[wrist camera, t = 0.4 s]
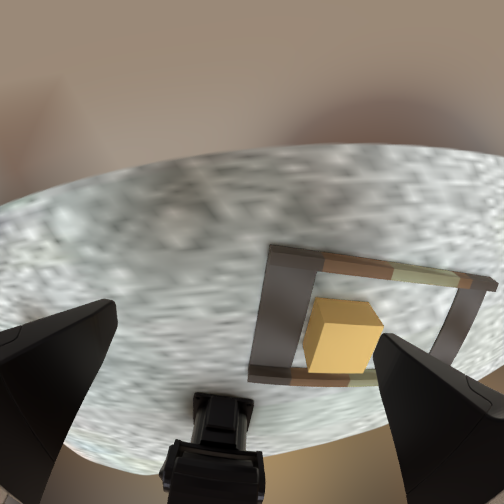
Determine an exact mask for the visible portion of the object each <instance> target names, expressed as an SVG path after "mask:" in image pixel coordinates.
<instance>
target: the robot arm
mask: <svg viewBox="0 0 504 504" xmlns="http://www.w3.org/2000/svg"><path fill="white" fill-rule="evenodd" d="M117 326H118V320H117V311H116V304H115V302H114V301H113V300H108V299H101V300H98V301H95V302H91V303H88V304H85V305H82V306H79V307H76V308H73V309H70V310H67V311H64V312H60V313H57V314H54V315H51V316H48V317H45V318H42V319H39V320H36V321H33V322H30V323H26V324H23V325H22V326H21V325H20V326H17V327H14V328H11V329H7V330H4V331H1V332H0V504H5V501H6V499H7V497H8V495H9V496H11V497H12V498H14V499H15V500H16V501H18V502H19V503H21V504H40V501H41V498H42V495H43V492H44V490H45V487H46V484H47V482H48V479H49V476H50V474H51V471H52V469H53V466H54V464H55V461H56V459H57V456H58V454H59V452H60V449H61V447H62V445H63V442H64V440H65V438H66V436H67V434H68V431H69V429H70V427H71V425H72V423H73V421H74V418H75V416H76V414H77V412H78V410H79V408H80V406H81V404H82V402H83V400H84V398H85V396H86V394H87V392H88V390H89V388H90V386H91V384H92V382H93V380H94V379H95V377H96V375H97V373H98V371H99V369H100V367H101V365H102V363H103V361H104V359H105V356H106V354H107V351H108V349H109V346H110V344H111V341H112V339H113V337H114V334H115V332H116V329H117ZM373 361H374V365H375V370H376V375H377V380H378V385H379V390H380V395H381V398H382V402H383V405H384V408H385V412H386V415H387V419H388V422H389V426H390V429H391V433H392V436H393V441H394V444H395V448H396V452H397V456H398V460H399V464H400V469H401V473H402V478H403V482H404V487H405V492H406V494H407V495H406V497H407V503H408V504H504V395H503V394H501V393H499V392H497V391H495V390H493V389H491V388H489V387H487V386H485V385H483V384H481V383H480V382H478V381H476V380H474V379H472V378H470V377H469V376H467V375H466V376H465V374H463V373H462V372H460V371H458V370H456V369H455V368H453V367H451V366H449V365H448V364H446V363H444V362H442V361H441V360H439V359H437V358H435V357H434V356H432V355H430V354H428V353H427V352H425V351H423V350H421V349H420V348H418V347H416V346H414V345H413V344H411V343H409V342H407V341H406V340H404V339H402V338H400V337H399V336H397V335H395V334H393V333H383V334H382V335H381V336H380V338H379V341H378V343H377V345H376V348H375V350H374V353H373ZM253 407H254V401H253V400H249V399H240V398H231V397H223V396H216V395H209V394H203V393H195V394H194V397H193V414H194V429H193V433H192V438H191V443H188V442H183V441H181V440H178V439H175V442H174V445H171V446H169V450H168V454H167V457H166V460H165V462H164V464H163V466H162V468H161V470H160V472H159V477H160V478H161V480H162V481H163V489H164V492H168V493H169V497H168V502H167V504H262V502H263V499H264V494H265V472H264V464H263V455H262V451H256V452H253V451H246V432H247V431H248V427H249V423H250V419H251V415H252V411H253Z"/></svg>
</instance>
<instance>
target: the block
mask: <svg viewBox="0 0 504 504" xmlns="http://www.w3.org/2000/svg"><path fill="white" fill-rule="evenodd" d="M383 328H384V325H383V324H382V322H381V321H380V319H379V318H378V316H377V315H376V313H375V312H374V310H373V309H372V307H371V305H370V304H369V302H360V301H349V300H339V299H328V298H318V297H315V301H314V305H313V308H312V312H311V316H310V319H309V323H308V327H307V330H306V334H305V337H304V341H303V349H304V354H305V359H306V364H307V368H308V372H309V373H363V372H364V370H365V368H366V366H367V364H368V362H369V360H370V358H371V355H372V353H373V351H374V349H375V346H376V344H377V342H378V340H379V337H380V335H381V332H382V330H383Z"/></svg>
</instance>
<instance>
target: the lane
mask: <svg viewBox="0 0 504 504" xmlns="http://www.w3.org/2000/svg"><path fill="white" fill-rule="evenodd" d="M317 271H321V272H328V273H336V274H345V275H353V276H361V277H369V278H377V279H386V280H394V281H403V282H411V283H420V284H428V285H437V286H446V287H455V288H459V289H458V291H457V294H456V296H455V299H454V301H453V304H452V306H451V308H450V311H449V313H448V315H447V318H446V320H445V322H444V324H443V326H442V329H441V331H440V333H439V335H438V337H437V339H436V341H435V343H434V345H433V347H432V349H431V351H430V353H429V354H430V355H432V356H434V357H435V358H437V359H439V360H441V361H442V362H444V363H446V364H448V365H449V366H450V365H451V363H452V362H453V360H454V358H455V357H456V355H457V353H458V351H459V349H460V347H461V346H462V344H463V342H464V340H465V338H466V336H467V334H468V332H469V330H470V328H471V326H472V324H473V322H474V319H475V317H476V315H477V313H478V311H479V308H480V306H481V304H482V301H483V299H484V296H485V294H486V291H492V292H496V289H497V287H498V284H499V283H498V282H496V281H495V280H494V279H492V278H491V277H485V276H479V275H473V274H466V273H460V272H454V271H447V270H441V269H434V268H428V267H421V266H415V265H408V264H401V263H395V262H388V261H381V260H374V259H368V258H361V257H354V256H347V255H340V254H333V253H326V252H319V251H312V250H305V249H298V248H291V247H283V246H276V245H270V248H269V254H268V260H267V266H266V272H265V278H264V284H263V290H262V295H261V301H260V307H259V313H258V318H257V324H256V330H255V335H254V341H253V346H252V352H251V357H250V363H249V368H248V382H252V383H262V384H274V385H289V386H311V387H364V386H379V385H378V380H377V375H376V370H375V369H371V370H364V372H363V373H309V372H308V368H293V367H291V365H292V362H293V359H294V355H295V352H296V349H297V345H298V342H299V338H300V335H301V331H302V327H303V324H304V320H305V316H306V313H307V309H308V305H309V301H310V297H311V293H312V289H313V285H314V281H315V277H316V273H317Z"/></svg>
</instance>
